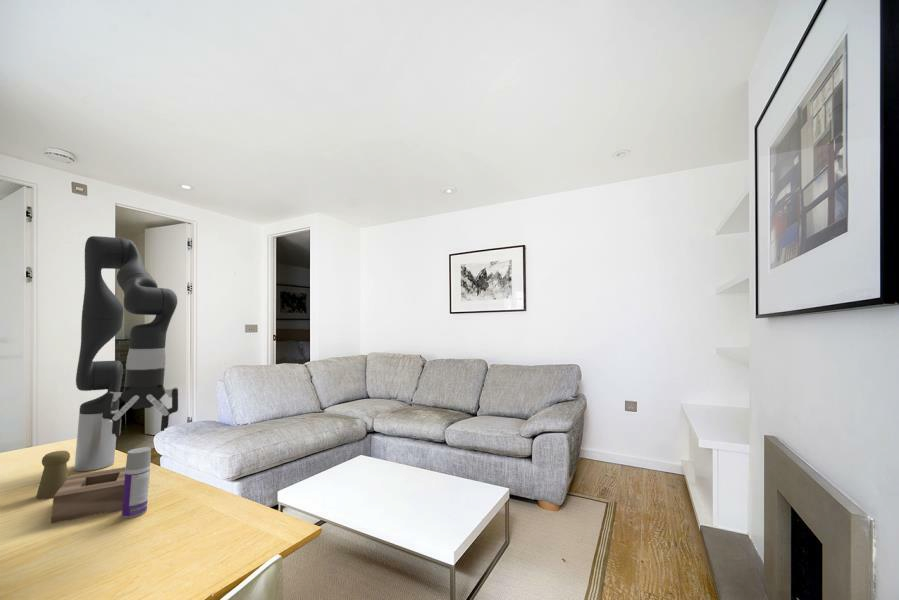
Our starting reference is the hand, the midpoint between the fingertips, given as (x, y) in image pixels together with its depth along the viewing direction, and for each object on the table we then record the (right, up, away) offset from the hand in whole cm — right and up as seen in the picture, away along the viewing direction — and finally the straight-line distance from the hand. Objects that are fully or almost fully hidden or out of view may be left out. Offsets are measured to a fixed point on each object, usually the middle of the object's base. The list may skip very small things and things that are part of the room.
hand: (140, 432), depth 91 cm
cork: (-30, -19, +7) cm, 36 cm away
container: (0, -19, -1) cm, 19 cm away
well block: (-13, -19, +3) cm, 23 cm away
